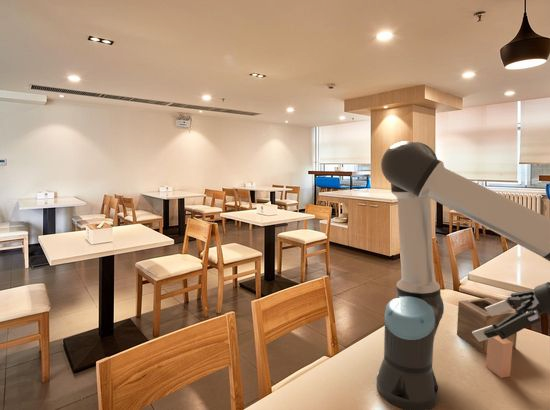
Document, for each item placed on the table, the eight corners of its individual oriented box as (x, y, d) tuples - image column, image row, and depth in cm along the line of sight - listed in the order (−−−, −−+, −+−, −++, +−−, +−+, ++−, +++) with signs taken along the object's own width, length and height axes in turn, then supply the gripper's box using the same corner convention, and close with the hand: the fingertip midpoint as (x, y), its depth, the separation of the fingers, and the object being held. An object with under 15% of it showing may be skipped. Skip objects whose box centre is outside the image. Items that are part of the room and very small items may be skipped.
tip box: (482, 352, 102) (485, 316, 100) (456, 334, 112) (458, 301, 111) (515, 347, 104) (518, 311, 102) (487, 330, 115) (489, 297, 113)
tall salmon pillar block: (500, 377, 90) (503, 343, 89) (485, 366, 95) (488, 334, 94) (510, 376, 91) (512, 342, 89) (494, 365, 95) (497, 333, 94)
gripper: (569, 338, 69) (480, 361, 84) (577, 286, 86) (502, 313, 101) (541, 307, 71) (459, 335, 86) (554, 262, 88) (484, 292, 103)
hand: (482, 323), depth 93 cm, fingers open, 13 cm apart
